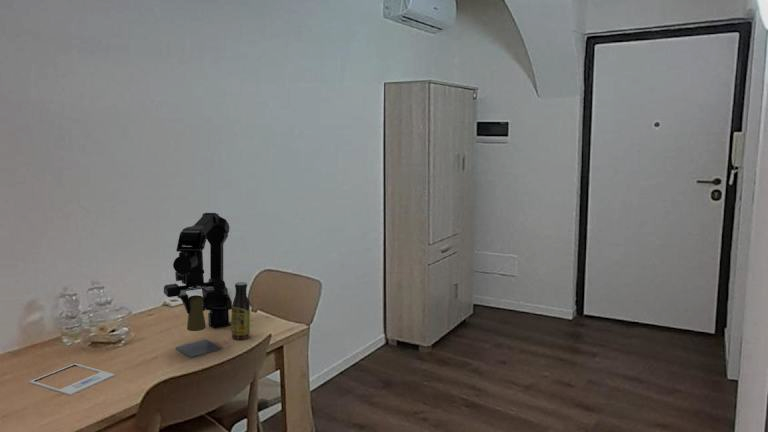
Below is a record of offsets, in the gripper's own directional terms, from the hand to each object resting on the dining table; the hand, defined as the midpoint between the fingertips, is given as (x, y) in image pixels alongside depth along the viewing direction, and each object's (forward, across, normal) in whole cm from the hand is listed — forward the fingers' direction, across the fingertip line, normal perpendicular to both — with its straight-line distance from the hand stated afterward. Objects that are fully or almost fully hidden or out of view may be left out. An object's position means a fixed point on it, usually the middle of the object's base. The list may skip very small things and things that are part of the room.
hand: (195, 312), depth 193 cm
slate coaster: (+13, 0, 0) cm, 13 cm away
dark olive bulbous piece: (+6, 0, 0) cm, 6 cm away
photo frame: (+14, +38, +4) cm, 40 cm away
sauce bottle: (+13, -16, -3) cm, 21 cm away
